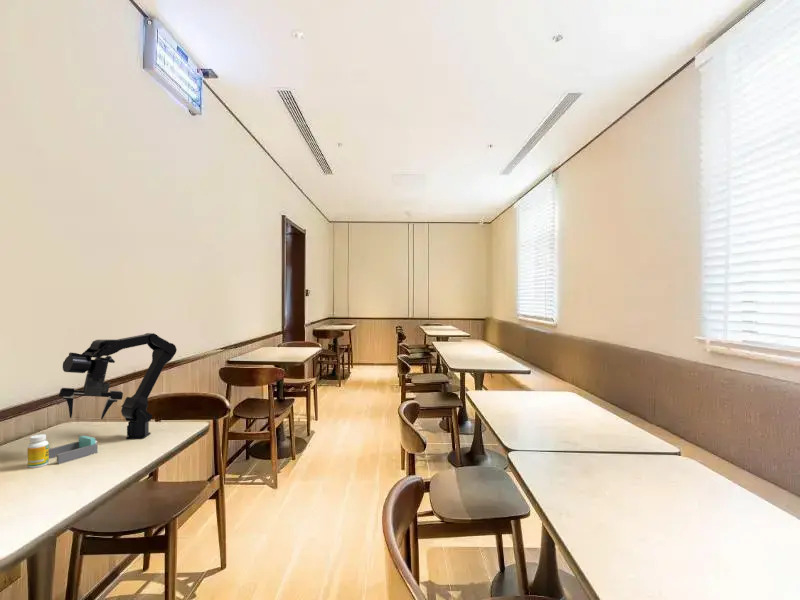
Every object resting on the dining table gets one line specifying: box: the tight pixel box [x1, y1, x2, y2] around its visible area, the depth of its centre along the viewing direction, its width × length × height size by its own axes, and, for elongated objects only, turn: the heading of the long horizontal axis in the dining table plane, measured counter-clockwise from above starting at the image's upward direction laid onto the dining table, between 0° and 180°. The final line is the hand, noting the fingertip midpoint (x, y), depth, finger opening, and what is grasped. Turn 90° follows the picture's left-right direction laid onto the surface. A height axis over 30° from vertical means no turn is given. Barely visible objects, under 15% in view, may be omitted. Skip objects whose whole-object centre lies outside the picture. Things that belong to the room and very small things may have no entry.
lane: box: [49, 435, 98, 465], centre depth 153 cm, size 14×10×5 cm
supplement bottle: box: [27, 433, 50, 469], centre depth 144 cm, size 5×5×10 cm
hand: (86, 418), depth 157 cm, fingers open, 9 cm apart
